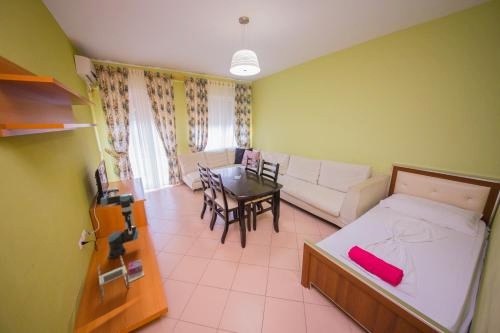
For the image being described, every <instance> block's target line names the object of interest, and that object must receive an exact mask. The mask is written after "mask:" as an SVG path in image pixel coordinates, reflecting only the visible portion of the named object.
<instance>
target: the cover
mask: <svg viewBox="0 0 500 333" xmlns="http://www.w3.org/2000/svg"><path fill="white" fill-rule="evenodd" d="M117 268H118V269H116V268H114V269H115V270H114V269H112V270H113V271H112V270H110V271H111V272H109V271H108V273H107V272H105V273H106V274H104V273H102V274H103V275H102V274H101V276H99V275H98V282H99V287H100V286H101V285H103V286H104V285H105V284H108V283H109V282H112V281H115V280H116V279H118V278H121V277H124V275H125V274H128V271H127V268H126V265H125V266H123V267H121V266H120V268H119V267H117Z"/></svg>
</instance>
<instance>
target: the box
mask: <svg viewBox="0 0 500 333" xmlns="http://www.w3.org/2000/svg"><path fill="white" fill-rule="evenodd" d="M142 270H143V260H142V259H138V260H137V259H136V260H135V261H132V262H129V263H128V271H127V272H128V276H130V275H132V274H135V273H138V272H141V271H142Z"/></svg>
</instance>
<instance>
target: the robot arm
mask: <svg viewBox="0 0 500 333" xmlns="http://www.w3.org/2000/svg"><path fill="white" fill-rule="evenodd" d="M135 203H136V202H135V198H134V194H133V193H127V192H124V193H122V194H117V195H112V196H104V197H101V198H100V205H101V206H102V207H104V206H110V207H115V206H116V207H119V206H120V210H121V216H123V217H124V218H123V219H124V227H125V228H124V230H123V231H120V230H118V231H115V232H112V233H111V234H109V235H108V238H107V242H108V248H109V251H108V254H107V256H108V259H118V258H120V256H122V257H123V256H124V255H125V254H126V252H127V249H126V247H125V244H127V243H130V242H134V241H136V240H138V239H139V228H137V226H135V217H134V210H133V206H134V204H135Z"/></svg>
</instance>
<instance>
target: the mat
mask: <svg viewBox="0 0 500 333" xmlns="http://www.w3.org/2000/svg"><path fill="white" fill-rule="evenodd" d="M144 276H145V272H144V270H143V271H141V272H138V273H135V274H132V275H130V276H129V275H128V281H129V284H130V283H131V282H134V281H136V280H139V279H140V278H143V277H144Z"/></svg>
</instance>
